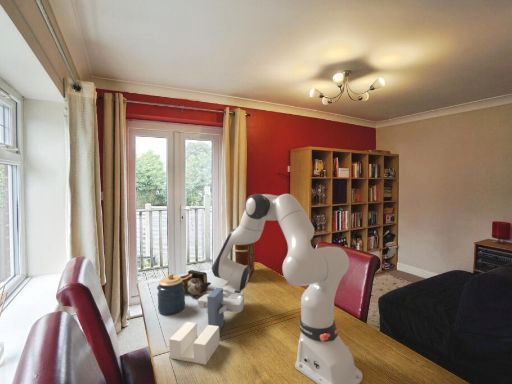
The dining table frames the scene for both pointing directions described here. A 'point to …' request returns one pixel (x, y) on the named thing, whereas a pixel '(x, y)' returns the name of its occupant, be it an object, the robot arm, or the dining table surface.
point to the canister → (171, 295)
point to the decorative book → (245, 256)
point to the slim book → (215, 308)
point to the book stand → (194, 343)
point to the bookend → (195, 282)
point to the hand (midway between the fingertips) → (213, 311)
